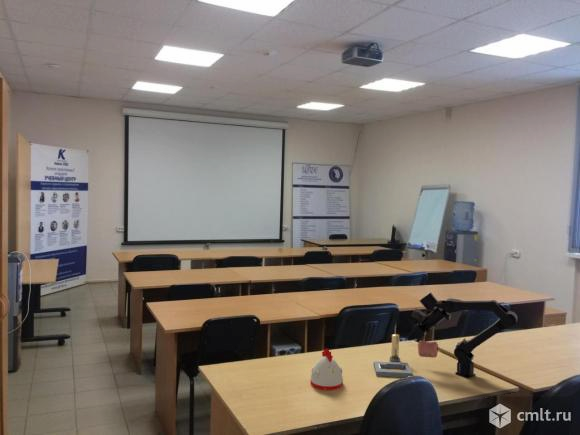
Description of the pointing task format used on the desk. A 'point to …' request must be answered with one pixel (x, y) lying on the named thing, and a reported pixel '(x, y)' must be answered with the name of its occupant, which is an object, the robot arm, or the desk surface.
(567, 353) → the desk surface
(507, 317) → the robot arm
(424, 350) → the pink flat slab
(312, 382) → the kitchen timer
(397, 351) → the brass peg
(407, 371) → the square frame
